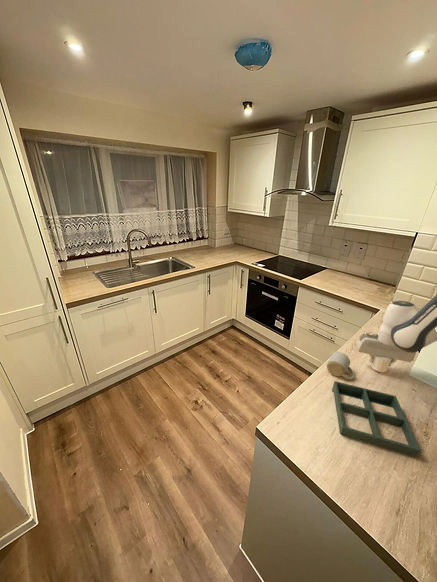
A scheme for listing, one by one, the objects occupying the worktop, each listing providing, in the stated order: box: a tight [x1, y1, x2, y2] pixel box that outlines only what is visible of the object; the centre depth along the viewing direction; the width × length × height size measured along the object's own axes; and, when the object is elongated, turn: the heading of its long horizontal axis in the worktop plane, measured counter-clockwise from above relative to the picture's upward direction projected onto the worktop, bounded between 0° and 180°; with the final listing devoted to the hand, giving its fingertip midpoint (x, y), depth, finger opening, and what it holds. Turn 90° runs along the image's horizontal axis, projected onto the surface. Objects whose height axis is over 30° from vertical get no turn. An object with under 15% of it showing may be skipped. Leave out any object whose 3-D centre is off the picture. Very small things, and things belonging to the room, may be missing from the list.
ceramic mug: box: [326, 351, 355, 381], centre depth 99 cm, size 11×8×8 cm
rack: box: [331, 380, 421, 458], centre depth 79 cm, size 20×20×5 cm
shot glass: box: [370, 355, 392, 373], centre depth 102 cm, size 7×7×7 cm
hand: (379, 363), depth 102 cm, fingers closed on shot glass, 5 cm apart
